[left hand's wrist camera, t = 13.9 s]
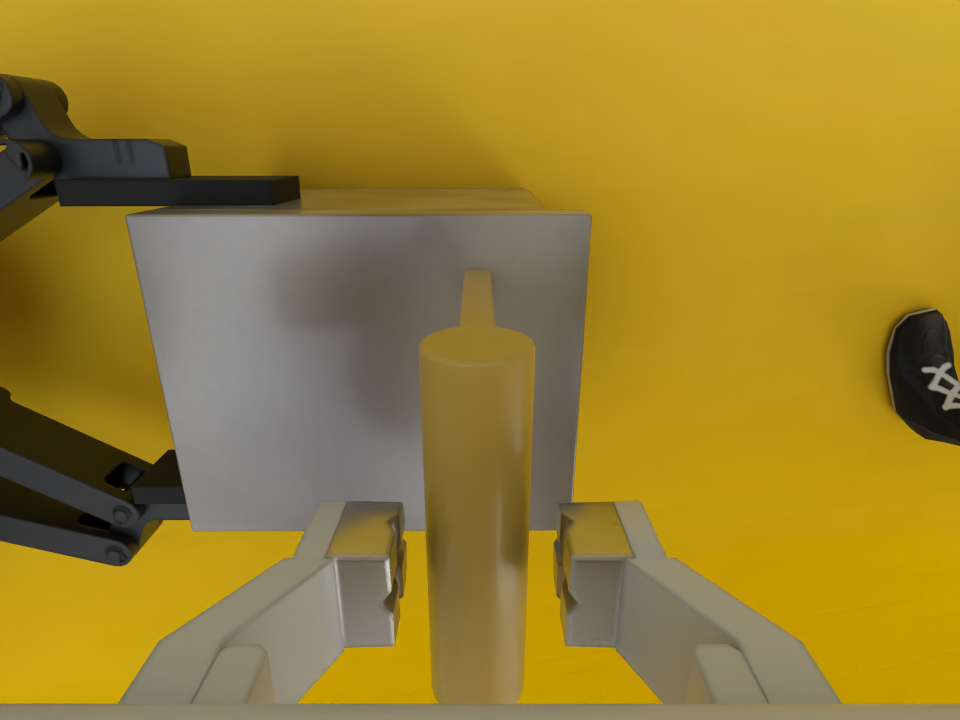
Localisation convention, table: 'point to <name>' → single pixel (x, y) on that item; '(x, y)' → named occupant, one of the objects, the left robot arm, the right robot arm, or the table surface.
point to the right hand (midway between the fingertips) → (305, 345)
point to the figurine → (924, 376)
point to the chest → (395, 200)
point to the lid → (381, 389)
